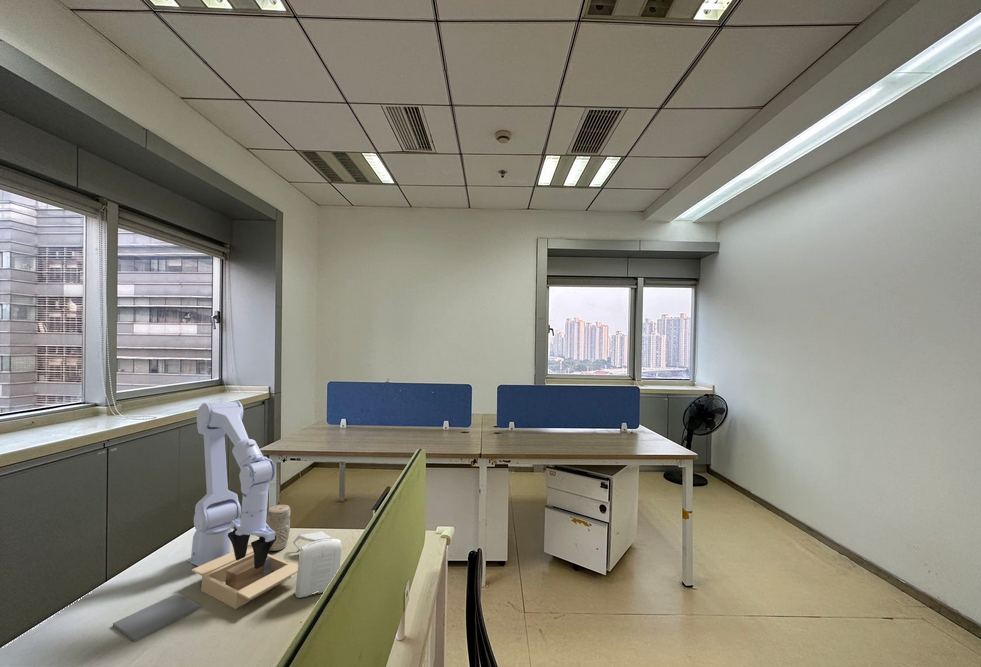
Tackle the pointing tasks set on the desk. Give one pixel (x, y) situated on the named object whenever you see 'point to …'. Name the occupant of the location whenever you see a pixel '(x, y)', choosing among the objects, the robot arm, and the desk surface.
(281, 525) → the carving
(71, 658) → the desk surface
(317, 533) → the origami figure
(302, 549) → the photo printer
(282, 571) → the carton
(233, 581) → the walnut box
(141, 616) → the mat
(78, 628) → the desk surface
